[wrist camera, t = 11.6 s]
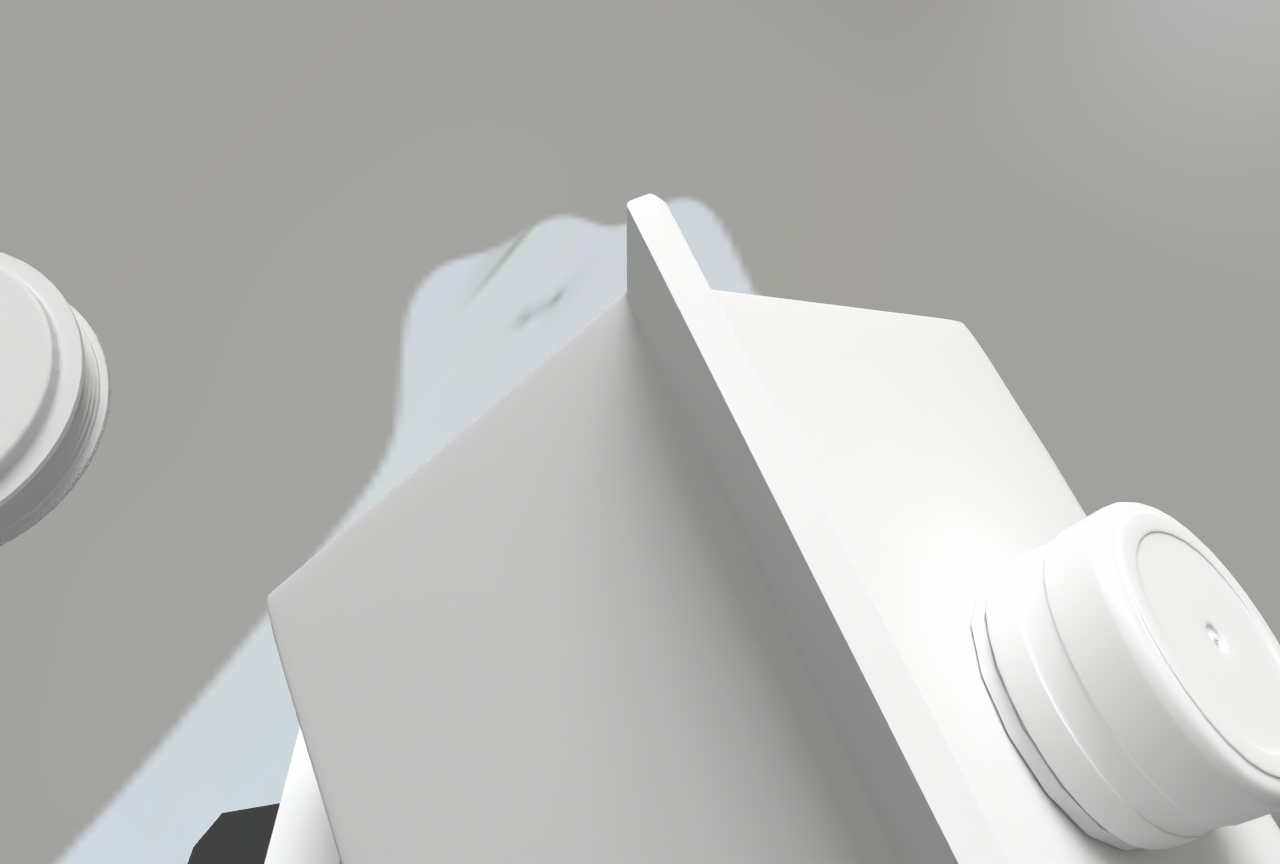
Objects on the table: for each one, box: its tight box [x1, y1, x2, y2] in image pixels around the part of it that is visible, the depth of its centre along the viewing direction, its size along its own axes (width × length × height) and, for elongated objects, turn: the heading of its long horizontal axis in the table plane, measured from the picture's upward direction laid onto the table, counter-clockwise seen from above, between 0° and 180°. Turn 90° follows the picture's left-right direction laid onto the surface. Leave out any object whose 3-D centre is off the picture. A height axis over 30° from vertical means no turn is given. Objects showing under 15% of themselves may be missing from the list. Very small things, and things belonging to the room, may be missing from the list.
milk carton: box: [267, 194, 1280, 864], centre depth 14 cm, size 7×7×19 cm
